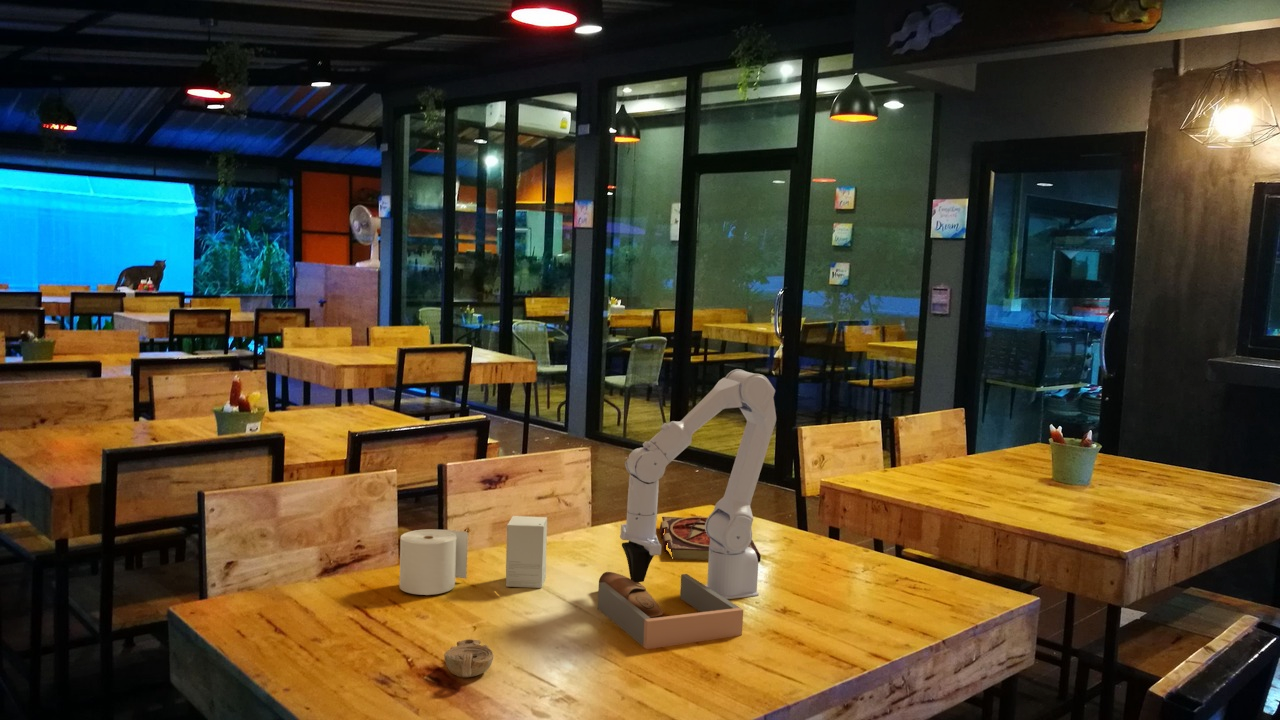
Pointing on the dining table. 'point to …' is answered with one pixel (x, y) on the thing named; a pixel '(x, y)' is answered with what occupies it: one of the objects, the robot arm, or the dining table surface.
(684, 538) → the book
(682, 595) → the open rectangular frame
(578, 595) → the dining table surface
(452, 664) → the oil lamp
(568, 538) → the dining table surface
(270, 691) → the dining table surface
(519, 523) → the supplement box
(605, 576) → the sunglasses case
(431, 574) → the toilet tissue
